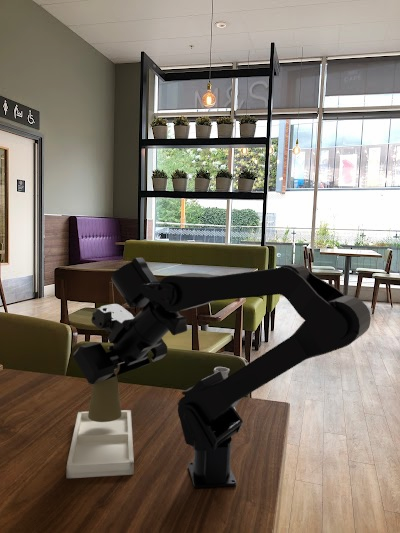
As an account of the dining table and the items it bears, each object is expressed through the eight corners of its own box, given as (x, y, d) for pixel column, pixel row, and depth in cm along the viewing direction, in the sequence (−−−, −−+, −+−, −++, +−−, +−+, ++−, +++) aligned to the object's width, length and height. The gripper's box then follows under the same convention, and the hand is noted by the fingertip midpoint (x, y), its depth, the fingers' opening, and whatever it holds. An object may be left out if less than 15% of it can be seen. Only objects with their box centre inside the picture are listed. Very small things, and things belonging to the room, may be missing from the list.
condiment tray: (133, 474, 69) (133, 462, 69) (66, 478, 67) (66, 465, 67) (130, 419, 88) (130, 410, 88) (78, 421, 86) (78, 411, 86)
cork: (119, 422, 79) (120, 361, 78) (84, 422, 78) (85, 361, 77) (123, 408, 85) (124, 351, 84) (91, 408, 84) (91, 351, 84)
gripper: (156, 286, 85) (113, 333, 92) (81, 297, 70) (36, 353, 77) (189, 332, 82) (142, 378, 89) (118, 355, 66) (67, 409, 73)
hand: (100, 378), depth 82 cm, fingers closed on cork, 5 cm apart
